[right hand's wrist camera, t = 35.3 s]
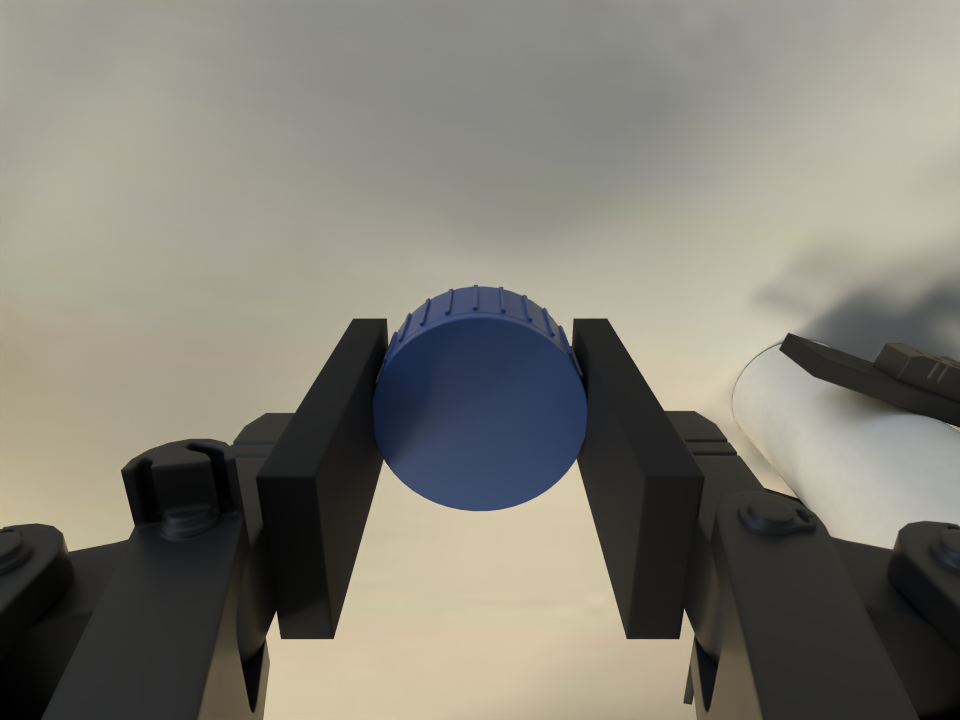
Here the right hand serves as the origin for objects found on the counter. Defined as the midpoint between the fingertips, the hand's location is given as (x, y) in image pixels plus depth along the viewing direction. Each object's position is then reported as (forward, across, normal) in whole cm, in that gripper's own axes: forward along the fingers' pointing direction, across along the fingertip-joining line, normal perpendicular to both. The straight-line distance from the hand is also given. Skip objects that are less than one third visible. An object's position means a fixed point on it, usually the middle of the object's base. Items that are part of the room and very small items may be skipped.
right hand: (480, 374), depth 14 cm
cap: (-2, 0, 0) cm, 2 cm away
